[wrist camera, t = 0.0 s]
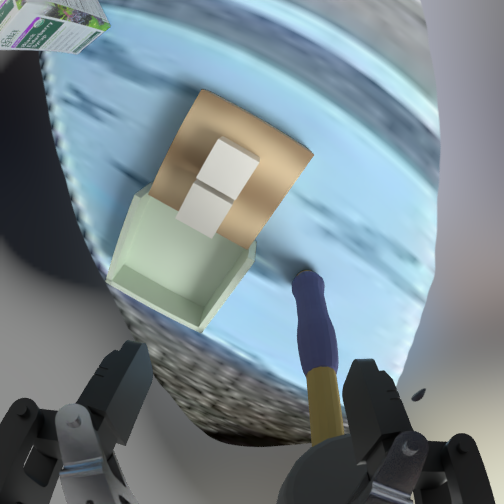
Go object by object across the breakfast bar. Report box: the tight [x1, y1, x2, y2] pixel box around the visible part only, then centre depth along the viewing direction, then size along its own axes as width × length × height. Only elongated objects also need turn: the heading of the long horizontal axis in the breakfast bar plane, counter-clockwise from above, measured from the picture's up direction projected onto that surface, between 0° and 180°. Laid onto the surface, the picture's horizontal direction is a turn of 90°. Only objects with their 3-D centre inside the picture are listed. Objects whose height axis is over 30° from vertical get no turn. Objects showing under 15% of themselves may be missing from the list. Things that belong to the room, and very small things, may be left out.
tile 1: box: [196, 136, 260, 200], centre depth 24 cm, size 4×4×2 cm
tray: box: [106, 182, 257, 333], centre depth 32 cm, size 13×14×4 cm
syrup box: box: [0, 0, 111, 54], centre depth 13 cm, size 6×6×14 cm
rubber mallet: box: [277, 270, 368, 504], centre depth 21 cm, size 12×8×30 cm, turn 4°
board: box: [148, 89, 314, 250], centre depth 27 cm, size 12×12×3 cm
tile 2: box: [175, 179, 234, 239], centre depth 26 cm, size 4×4×2 cm
